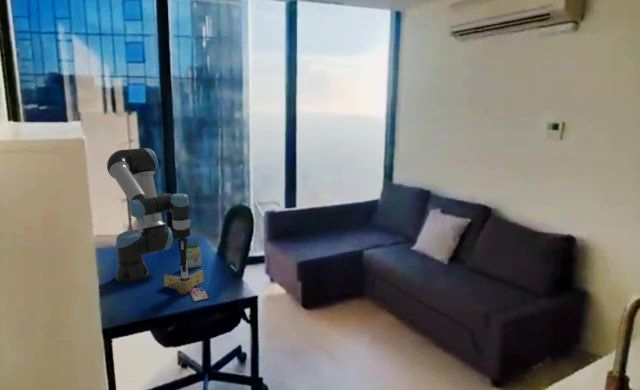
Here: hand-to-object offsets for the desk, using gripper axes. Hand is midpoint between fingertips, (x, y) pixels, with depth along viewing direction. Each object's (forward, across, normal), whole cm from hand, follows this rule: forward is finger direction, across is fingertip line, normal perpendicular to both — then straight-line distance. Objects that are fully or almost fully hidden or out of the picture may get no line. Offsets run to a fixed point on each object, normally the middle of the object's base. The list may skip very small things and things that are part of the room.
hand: (184, 275), depth 210 cm
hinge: (+8, +5, -1) cm, 9 cm away
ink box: (+8, +31, -4) cm, 32 cm away
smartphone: (+8, -5, -6) cm, 11 cm away
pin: (+6, 0, 0) cm, 6 cm away
